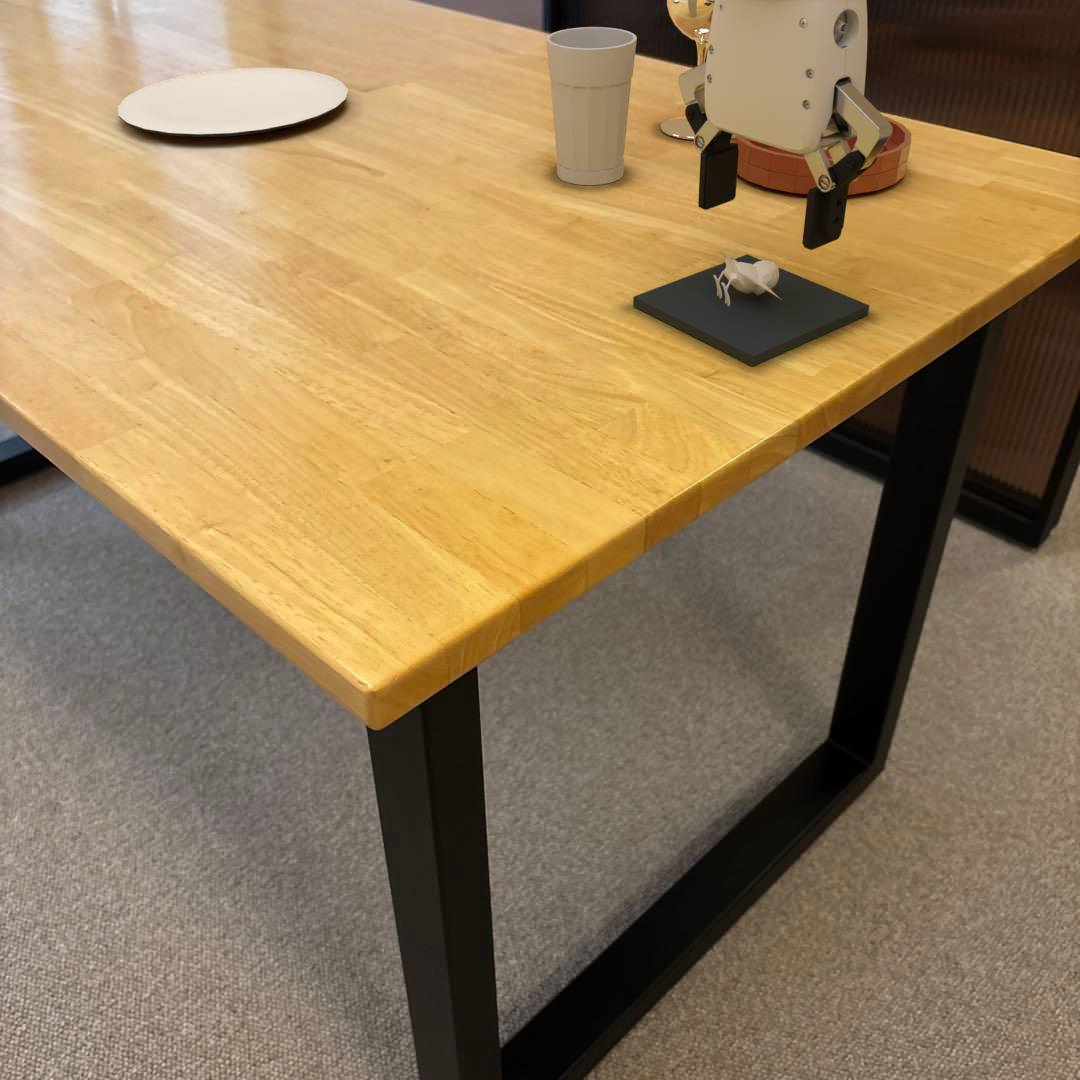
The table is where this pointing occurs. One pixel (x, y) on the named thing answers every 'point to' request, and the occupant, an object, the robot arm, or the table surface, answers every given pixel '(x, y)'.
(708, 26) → the wineglass
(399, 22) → the table surface
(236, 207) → the table surface
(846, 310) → the coaster
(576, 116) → the cup
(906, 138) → the bowl
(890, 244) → the table surface
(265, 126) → the plate
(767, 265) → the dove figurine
